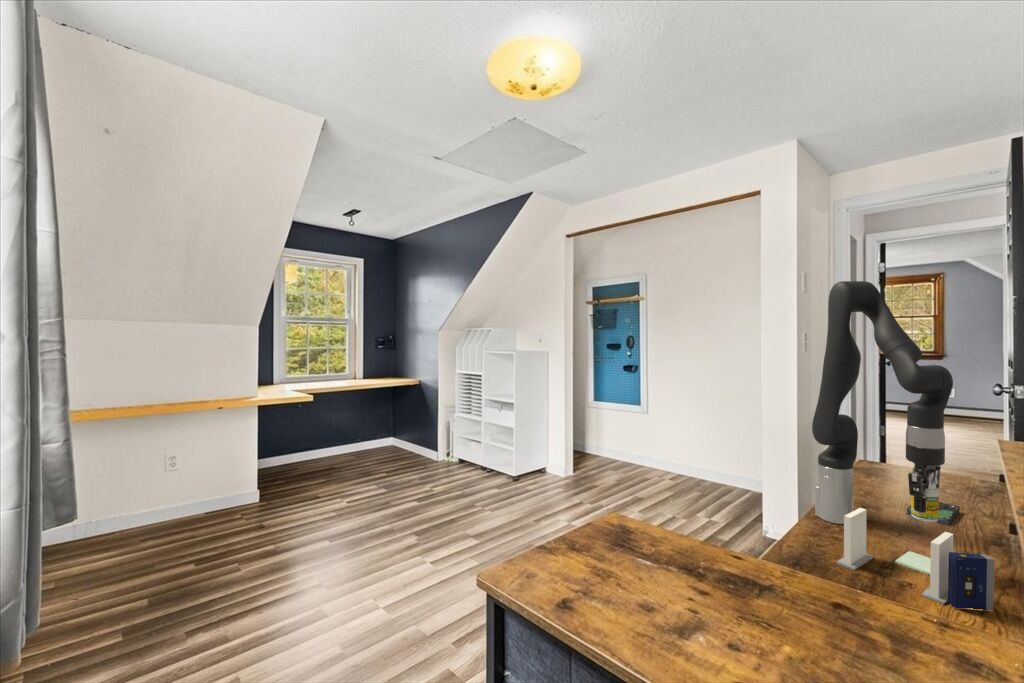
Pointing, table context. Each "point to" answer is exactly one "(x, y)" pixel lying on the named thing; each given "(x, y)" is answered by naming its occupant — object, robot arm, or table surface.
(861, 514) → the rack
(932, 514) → the supplement bottle
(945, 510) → the disk drive
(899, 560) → the pad
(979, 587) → the cassette player
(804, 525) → the table surface
